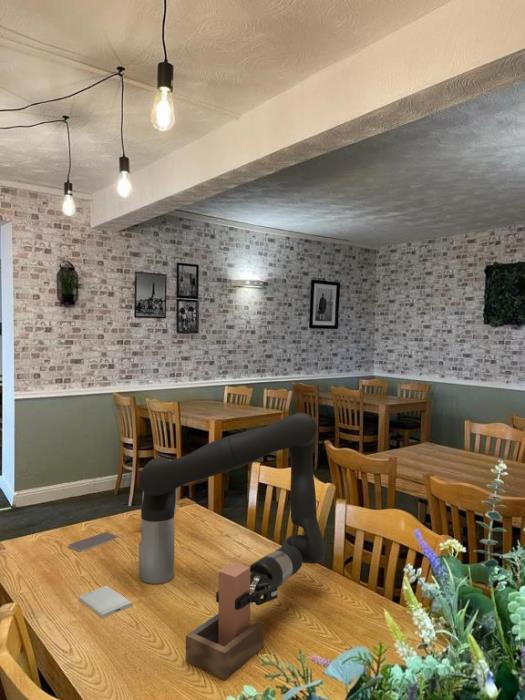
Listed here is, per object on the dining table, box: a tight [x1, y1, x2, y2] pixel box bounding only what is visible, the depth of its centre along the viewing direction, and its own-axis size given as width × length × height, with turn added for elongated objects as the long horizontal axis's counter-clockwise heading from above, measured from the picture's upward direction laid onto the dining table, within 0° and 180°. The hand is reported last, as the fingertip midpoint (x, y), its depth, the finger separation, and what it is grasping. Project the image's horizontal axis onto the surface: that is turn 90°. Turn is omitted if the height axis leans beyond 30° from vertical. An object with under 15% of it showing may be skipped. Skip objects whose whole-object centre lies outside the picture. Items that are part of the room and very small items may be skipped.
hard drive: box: [78, 585, 133, 619], centre depth 132 cm, size 2×8×12 cm
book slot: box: [185, 612, 265, 681], centre depth 111 cm, size 10×14×6 cm
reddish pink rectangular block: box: [218, 562, 251, 647], centre depth 113 cm, size 4×6×16 cm
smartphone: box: [67, 531, 119, 553], centre depth 171 cm, size 7×1×15 cm
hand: (226, 601), depth 111 cm, fingers closed on reddish pink rectangular block, 4 cm apart
